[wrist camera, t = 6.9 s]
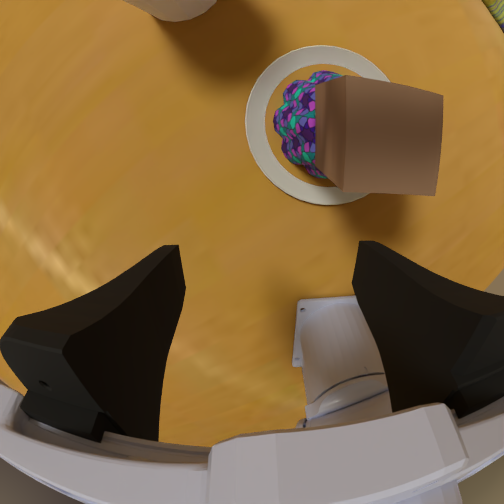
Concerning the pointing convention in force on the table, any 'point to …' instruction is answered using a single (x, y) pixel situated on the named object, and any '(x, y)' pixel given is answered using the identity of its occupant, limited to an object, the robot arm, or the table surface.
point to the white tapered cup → (173, 8)
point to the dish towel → (496, 10)
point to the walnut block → (378, 136)
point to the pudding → (299, 119)
